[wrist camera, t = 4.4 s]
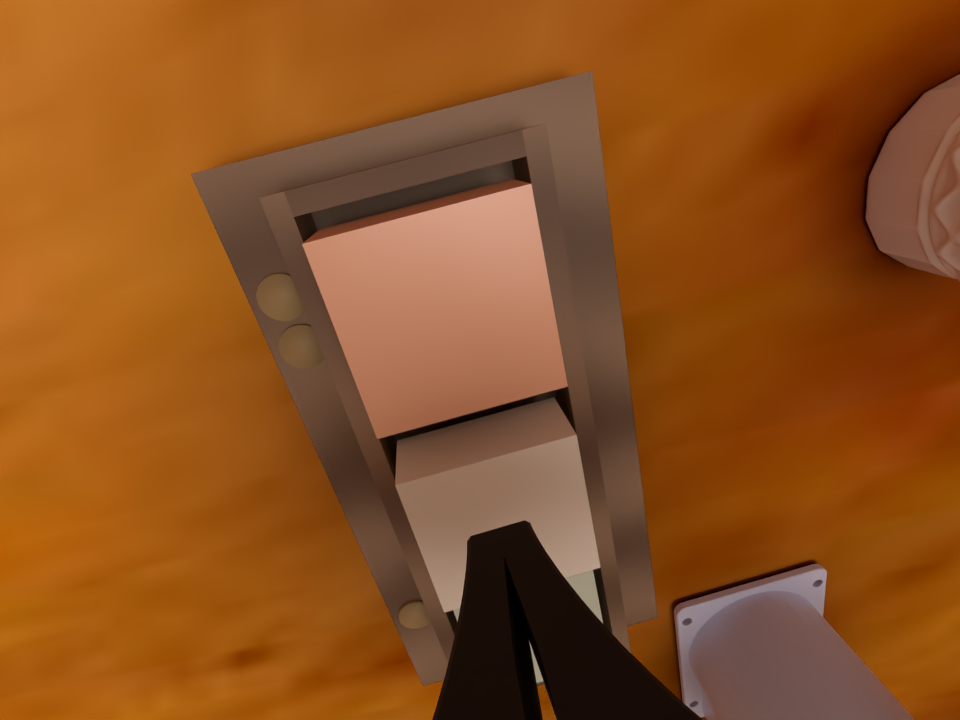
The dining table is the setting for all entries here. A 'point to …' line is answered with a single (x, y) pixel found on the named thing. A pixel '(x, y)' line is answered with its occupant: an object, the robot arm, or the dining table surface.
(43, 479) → the dining table surface
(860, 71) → the dining table surface
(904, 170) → the white cup
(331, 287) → the terracotta key
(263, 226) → the brown flat tray
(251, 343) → the dining table surface
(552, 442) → the cream key
